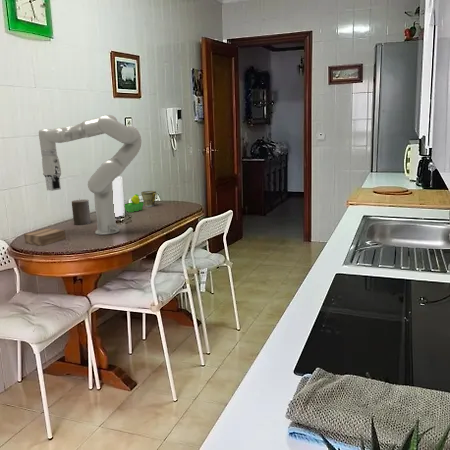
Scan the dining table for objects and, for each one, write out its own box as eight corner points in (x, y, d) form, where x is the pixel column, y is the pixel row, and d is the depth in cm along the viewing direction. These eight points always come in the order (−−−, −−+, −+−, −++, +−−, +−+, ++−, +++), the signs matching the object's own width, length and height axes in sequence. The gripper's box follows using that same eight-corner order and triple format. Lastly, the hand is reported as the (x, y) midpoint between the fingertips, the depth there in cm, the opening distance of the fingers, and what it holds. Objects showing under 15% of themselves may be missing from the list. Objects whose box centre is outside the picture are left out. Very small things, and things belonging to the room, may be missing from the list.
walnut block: (65, 239, 255) (64, 230, 254) (42, 246, 243) (41, 236, 242) (48, 237, 263) (47, 228, 261) (25, 243, 251) (23, 234, 250)
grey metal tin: (60, 189, 260) (59, 176, 259) (52, 190, 257) (50, 177, 255) (55, 188, 263) (53, 175, 262) (47, 190, 260) (45, 176, 258)
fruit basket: (137, 209, 329) (135, 192, 327) (146, 210, 323) (144, 193, 321) (123, 212, 321) (121, 195, 319) (132, 213, 315) (130, 195, 313)
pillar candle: (74, 226, 286) (71, 200, 283) (73, 223, 295) (70, 198, 292) (92, 224, 290) (89, 198, 286) (89, 221, 299) (87, 196, 295)
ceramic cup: (139, 207, 337) (137, 192, 334) (149, 204, 344) (148, 190, 342) (152, 208, 329) (151, 193, 327) (163, 205, 337) (162, 191, 334)
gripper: (64, 152, 253) (69, 187, 257) (46, 152, 264) (50, 186, 268) (51, 154, 248) (56, 190, 252) (33, 154, 258) (38, 188, 262)
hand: (53, 187), depth 260 cm, fingers closed on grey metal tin, 5 cm apart
